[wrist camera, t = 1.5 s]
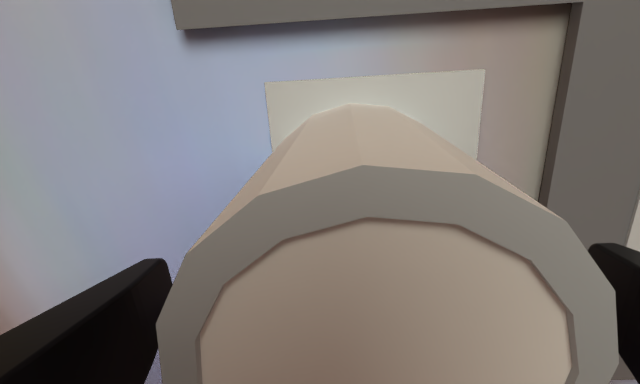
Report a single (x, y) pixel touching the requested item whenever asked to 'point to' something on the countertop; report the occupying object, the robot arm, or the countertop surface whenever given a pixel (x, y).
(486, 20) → the countertop surface
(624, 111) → the label board
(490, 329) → the shot glass
